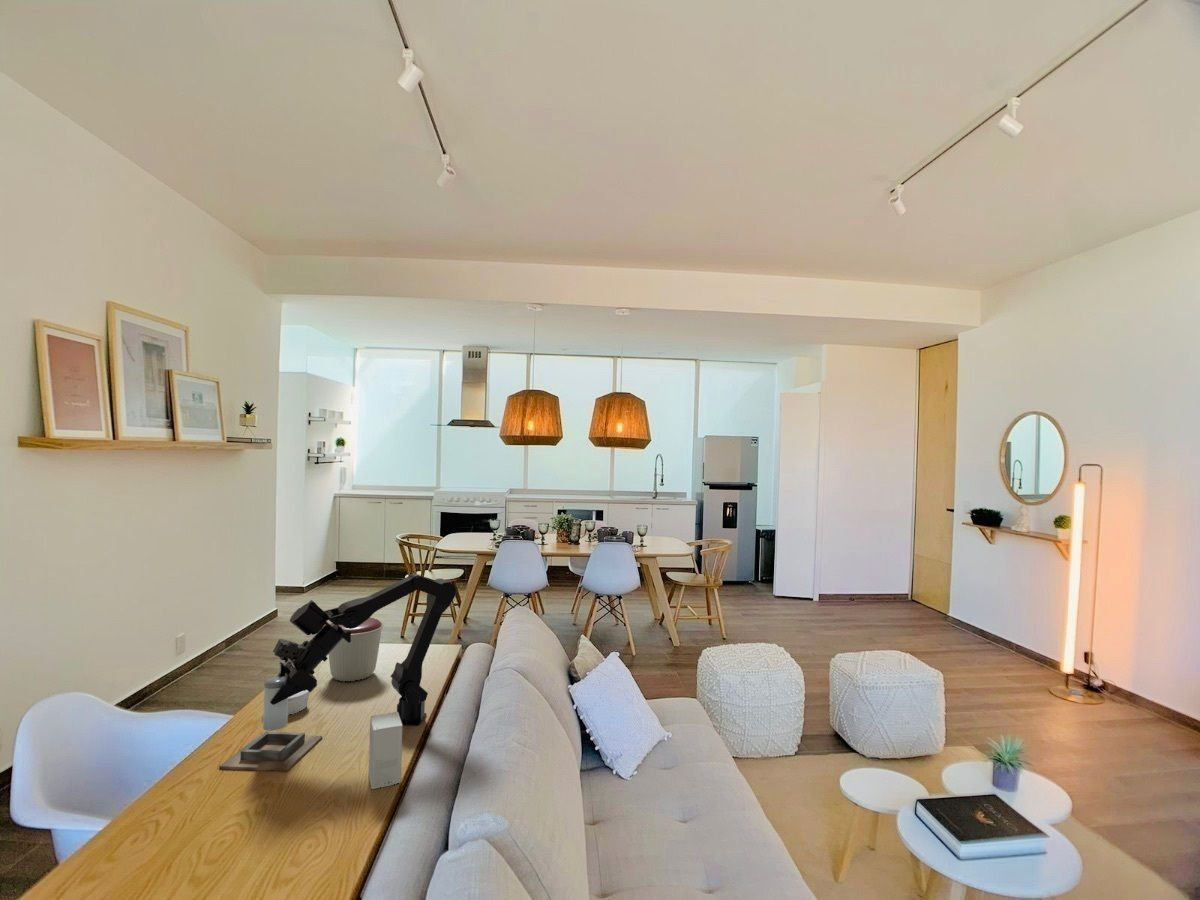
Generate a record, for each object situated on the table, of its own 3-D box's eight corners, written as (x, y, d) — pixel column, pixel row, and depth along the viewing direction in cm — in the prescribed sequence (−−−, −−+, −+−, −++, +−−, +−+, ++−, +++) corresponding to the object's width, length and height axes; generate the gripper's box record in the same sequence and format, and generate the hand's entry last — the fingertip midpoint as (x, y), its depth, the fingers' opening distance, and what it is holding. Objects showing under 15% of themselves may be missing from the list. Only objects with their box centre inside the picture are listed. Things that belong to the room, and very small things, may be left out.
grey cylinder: (292, 723, 143) (293, 678, 143) (271, 732, 138) (272, 686, 138) (279, 718, 145) (280, 674, 145) (258, 727, 141) (259, 681, 141)
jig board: (322, 738, 150) (322, 728, 150) (287, 771, 134) (287, 760, 134) (261, 735, 150) (261, 725, 150) (219, 768, 134) (219, 757, 134)
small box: (401, 783, 130) (403, 725, 130) (370, 790, 127) (372, 730, 128) (396, 766, 137) (398, 710, 138) (368, 772, 135) (369, 715, 135)
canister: (321, 690, 180) (324, 621, 181) (323, 670, 197) (325, 607, 197) (383, 682, 188) (386, 617, 188) (380, 663, 204) (382, 603, 204)
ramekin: (312, 699, 173) (313, 681, 174) (306, 715, 163) (307, 696, 163) (270, 703, 170) (271, 685, 170) (261, 720, 159) (262, 701, 159)
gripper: (289, 618, 152) (239, 669, 145) (303, 636, 137) (247, 694, 130) (321, 643, 156) (273, 693, 150) (338, 663, 142) (286, 720, 135)
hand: (269, 699), depth 141 cm, fingers closed on grey cylinder, 5 cm apart
